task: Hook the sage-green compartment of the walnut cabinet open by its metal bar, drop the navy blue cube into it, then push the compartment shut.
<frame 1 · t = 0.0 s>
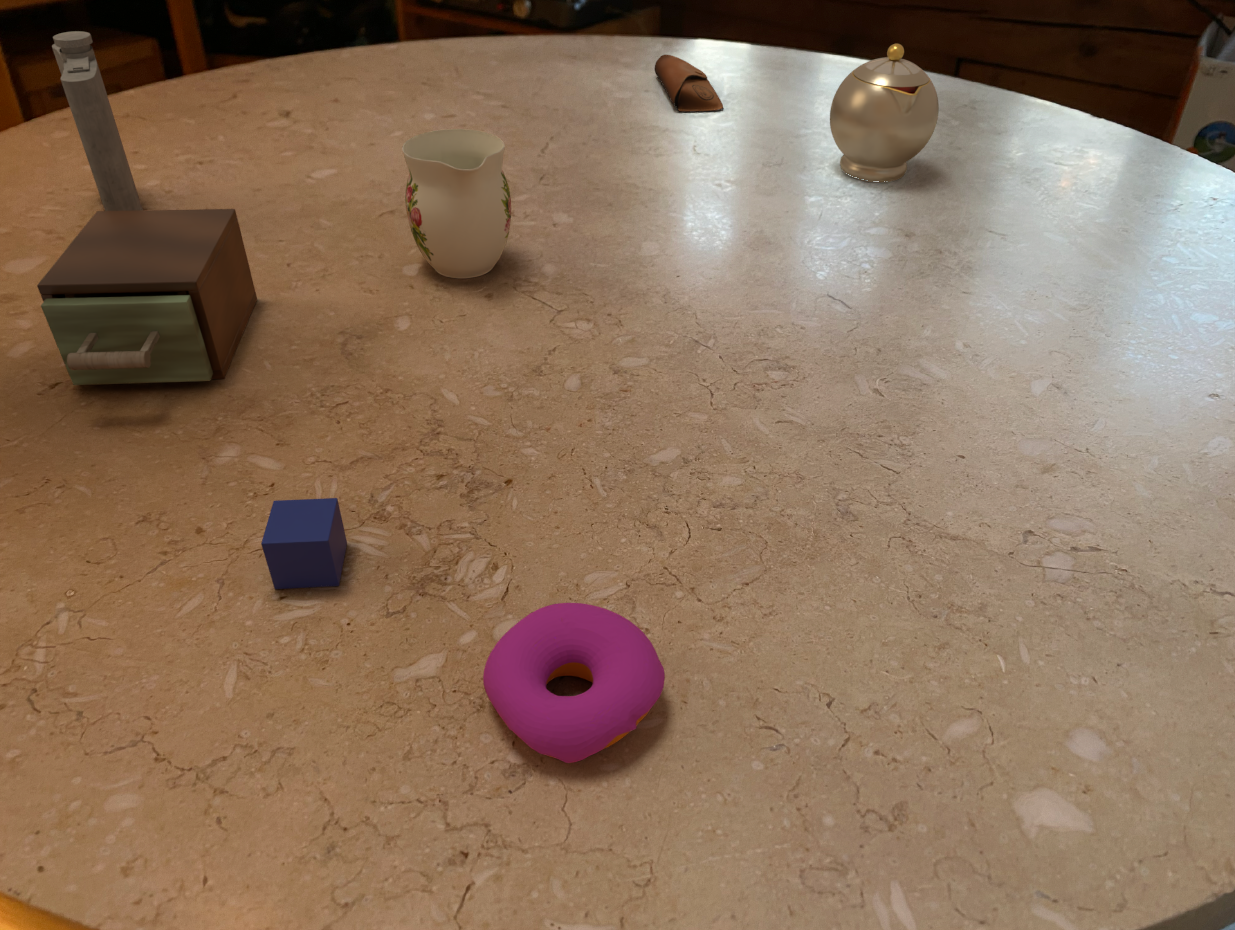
navy blue cube: (311, 565, 67), on the table
donut: (574, 701, 59), on the table
sunglasses case: (687, 94, 151), on the table
compartment: (143, 318, 83), point 5 cm above the table, slide at 0.5 cm
pitcher: (462, 262, 104), on the table
cabinet: (173, 338, 90), on the table
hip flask: (127, 215, 112), on the table
teapot: (867, 169, 128), on the table
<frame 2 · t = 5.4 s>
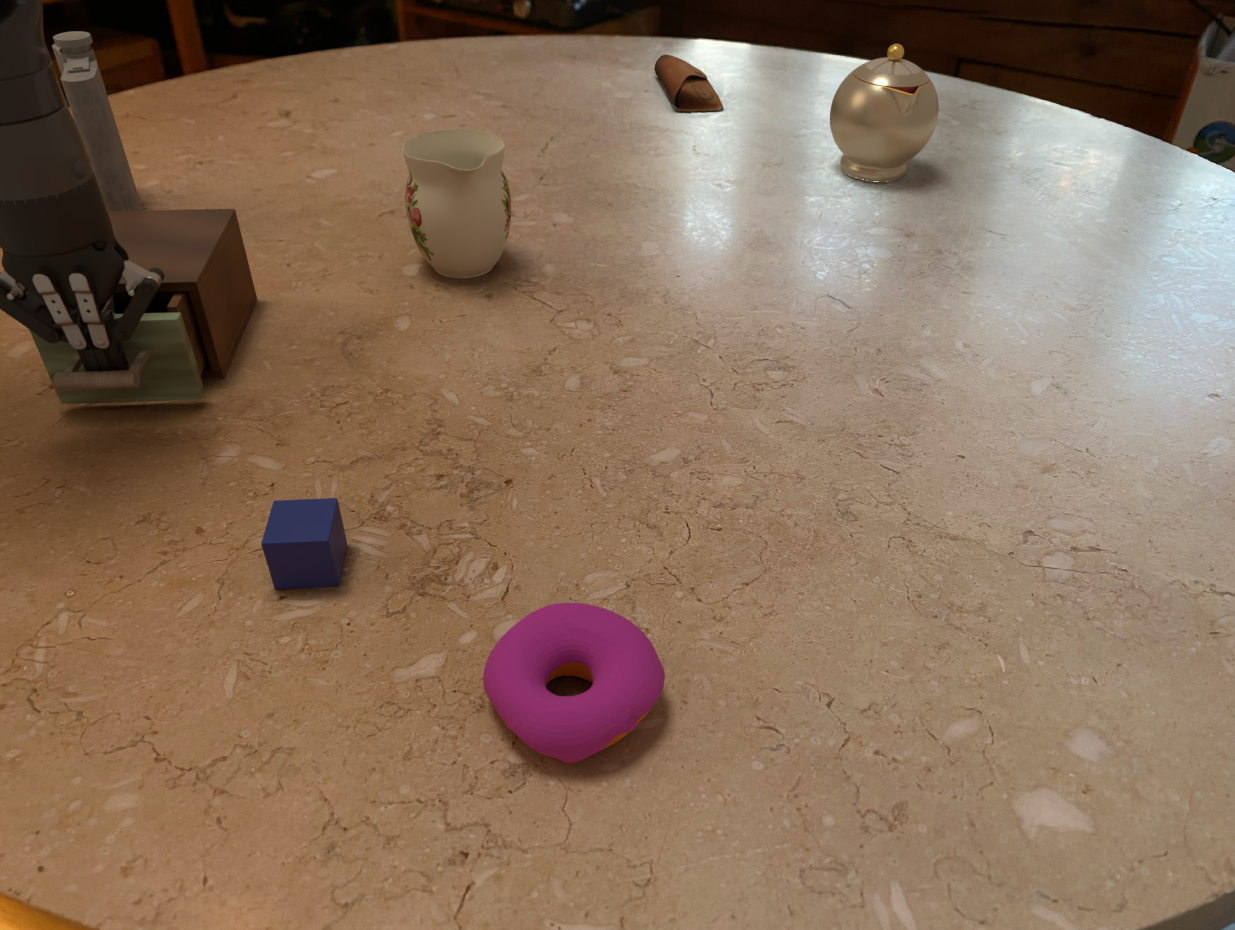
hand: (112, 381, 76), 5 cm above the table, tool pointing down, fingers closed
compartment: (133, 335, 81), point 5 cm above the table, slide at 3.4 cm, touching gripper
everything else where it was.
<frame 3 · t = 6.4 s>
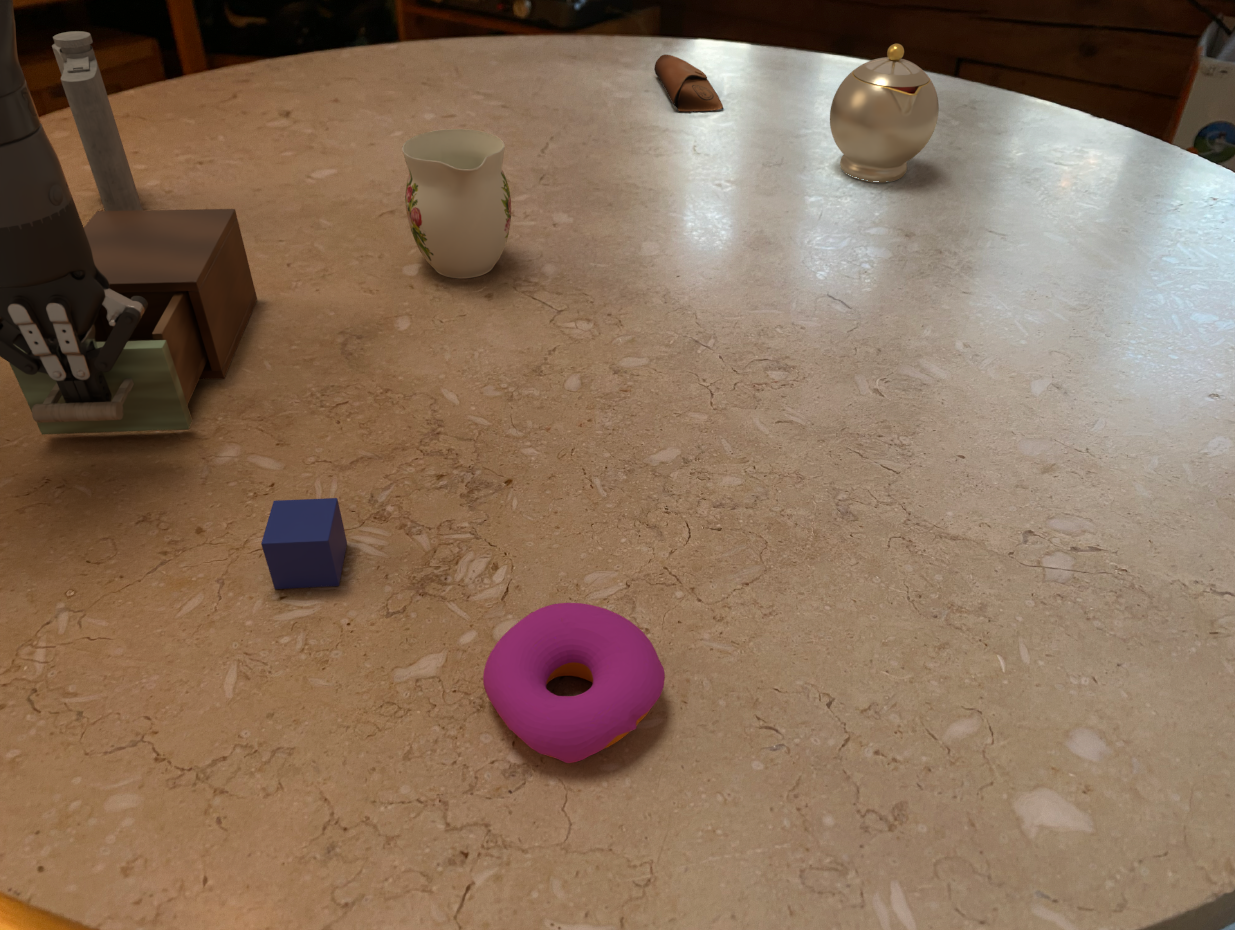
hand: (93, 412, 73), 5 cm above the table, tool pointing down, fingers closed
compartment: (118, 362, 78), point 5 cm above the table, slide at 7.7 cm, touching gripper
everything else where it was.
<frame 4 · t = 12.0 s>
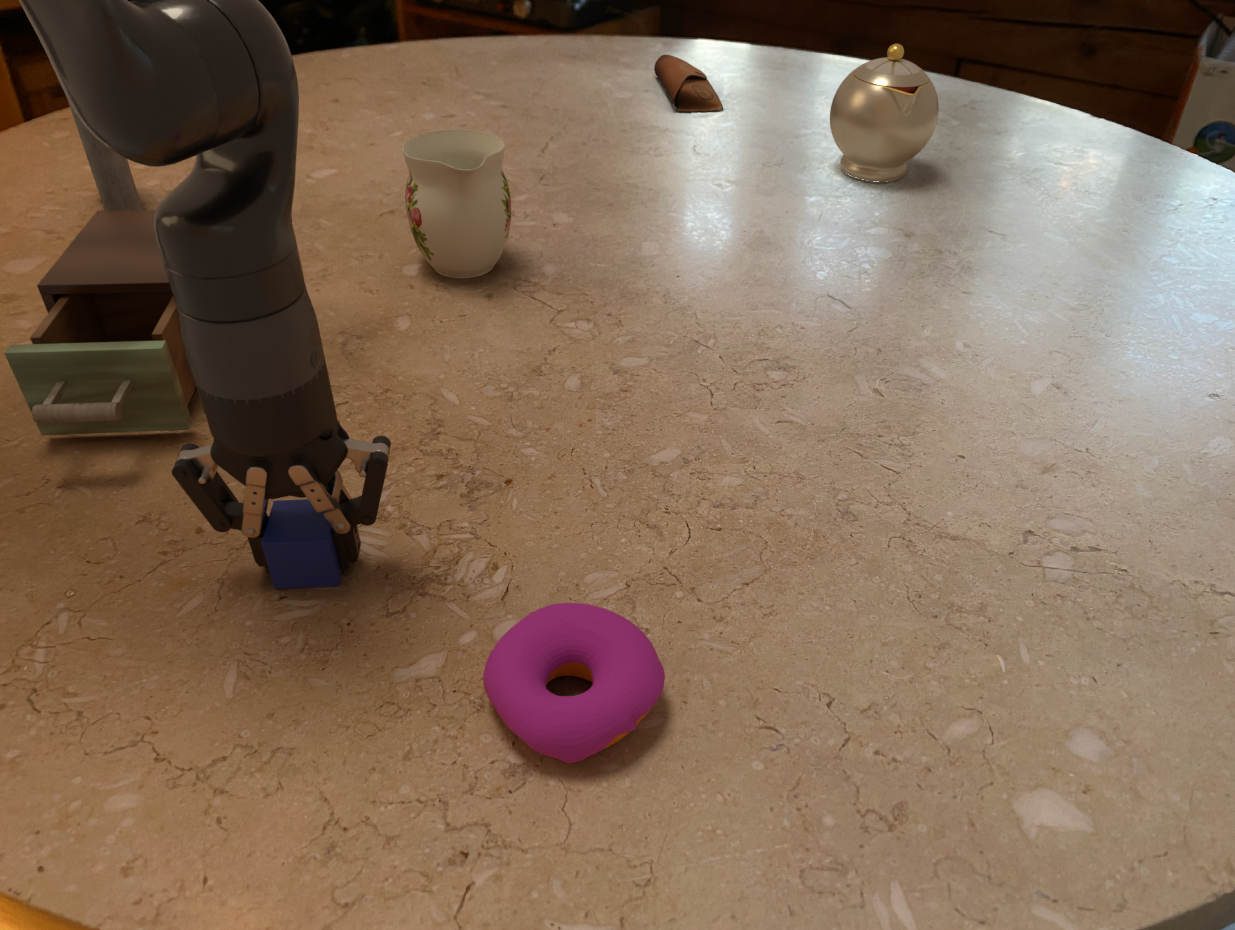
hand: (310, 562, 67), 0 cm above the table, tool pointing down, fingers closed on navy blue cube, 4 cm apart
navy blue cube: (312, 565, 67), on the table, touching gripper
compartment: (117, 362, 78), point 5 cm above the table, slide at 7.8 cm
everything else where it was.
when the fingers open (8 cm above the table, at t = 18.3 s): navy blue cube drops 6 cm, resting on compartment.
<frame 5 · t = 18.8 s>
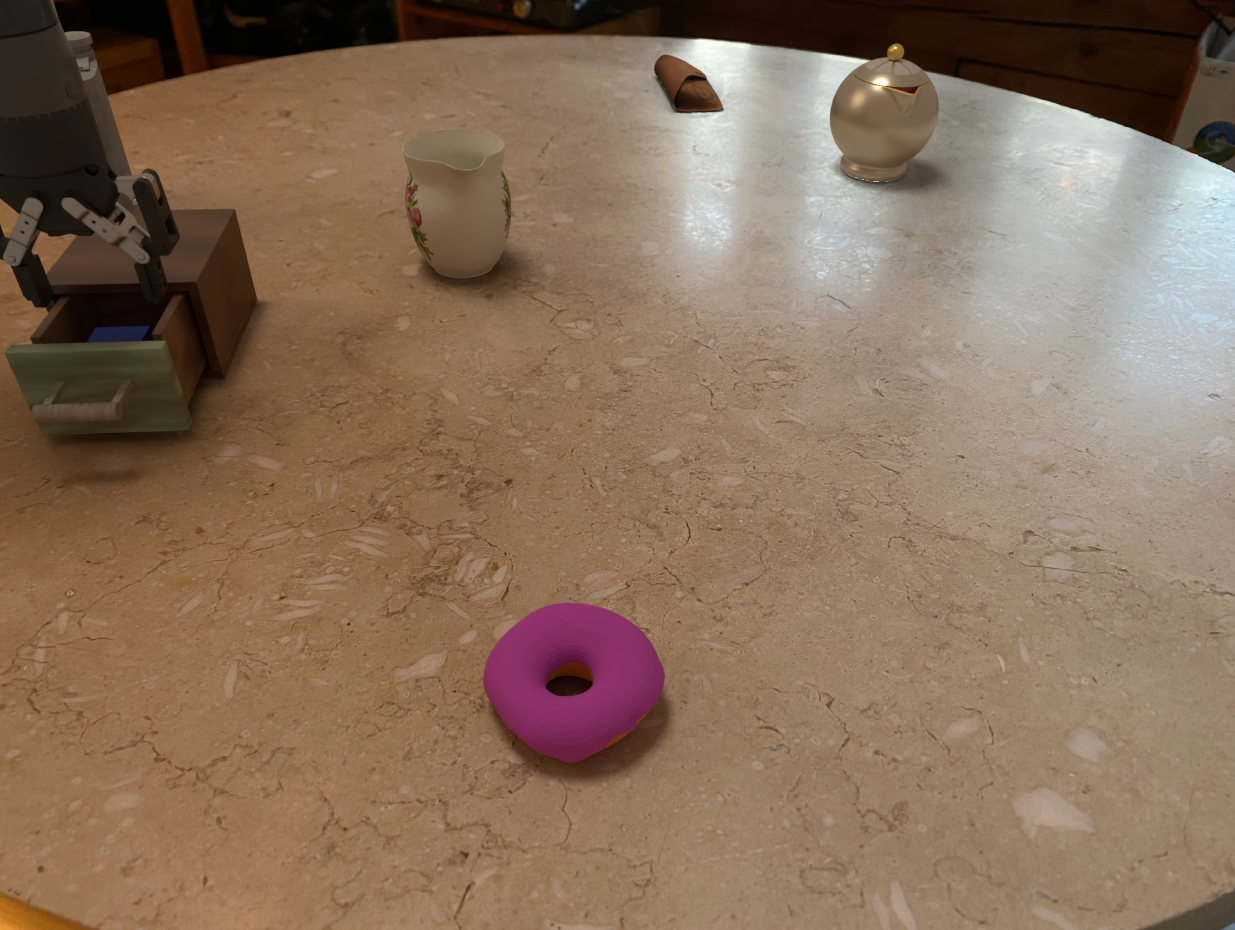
hand: (100, 301, 75), 10 cm above the table, tool pointing down, fingers open, 8 cm apart
navy blue cube: (130, 384, 80), point 2 cm above the table, touching compartment
compartment: (117, 362, 78), point 5 cm above the table, slide at 7.8 cm, touching navy blue cube
everything else where it was.
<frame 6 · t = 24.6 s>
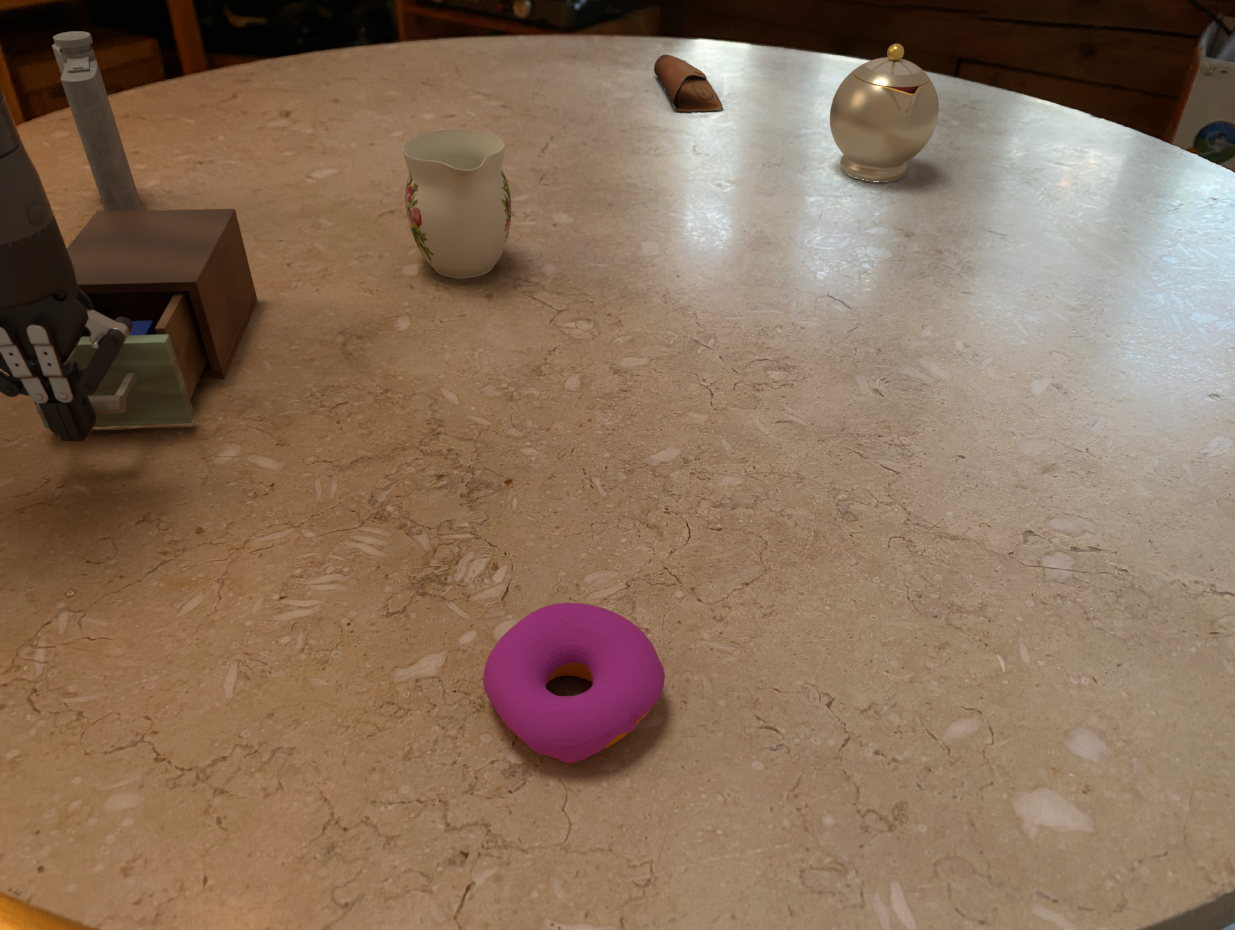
hand: (77, 434, 71), 4 cm above the table, tool pointing down, fingers closed
compartment: (121, 356, 79), point 5 cm above the table, slide at 6.8 cm, touching gripper, navy blue cube
everything else where it was.
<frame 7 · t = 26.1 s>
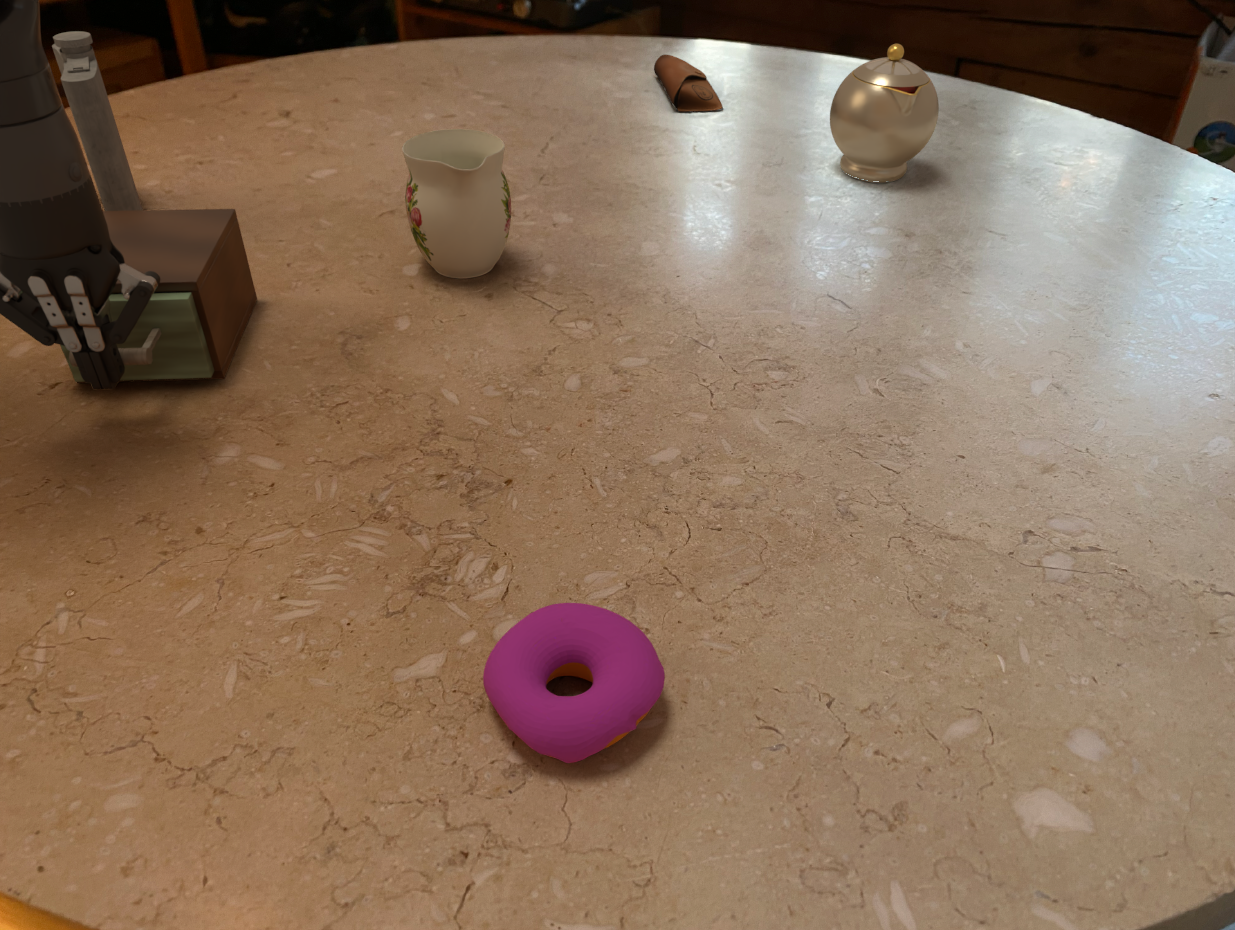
hand: (107, 384, 76), 4 cm above the table, tool pointing down, fingers closed
navy blue cube: (157, 336, 86), point 2 cm above the table, touching compartment
compartment: (145, 315, 84), point 5 cm above the table, slide at 0.0 cm, touching cabinet, gripper, navy blue cube
everything else where it was.
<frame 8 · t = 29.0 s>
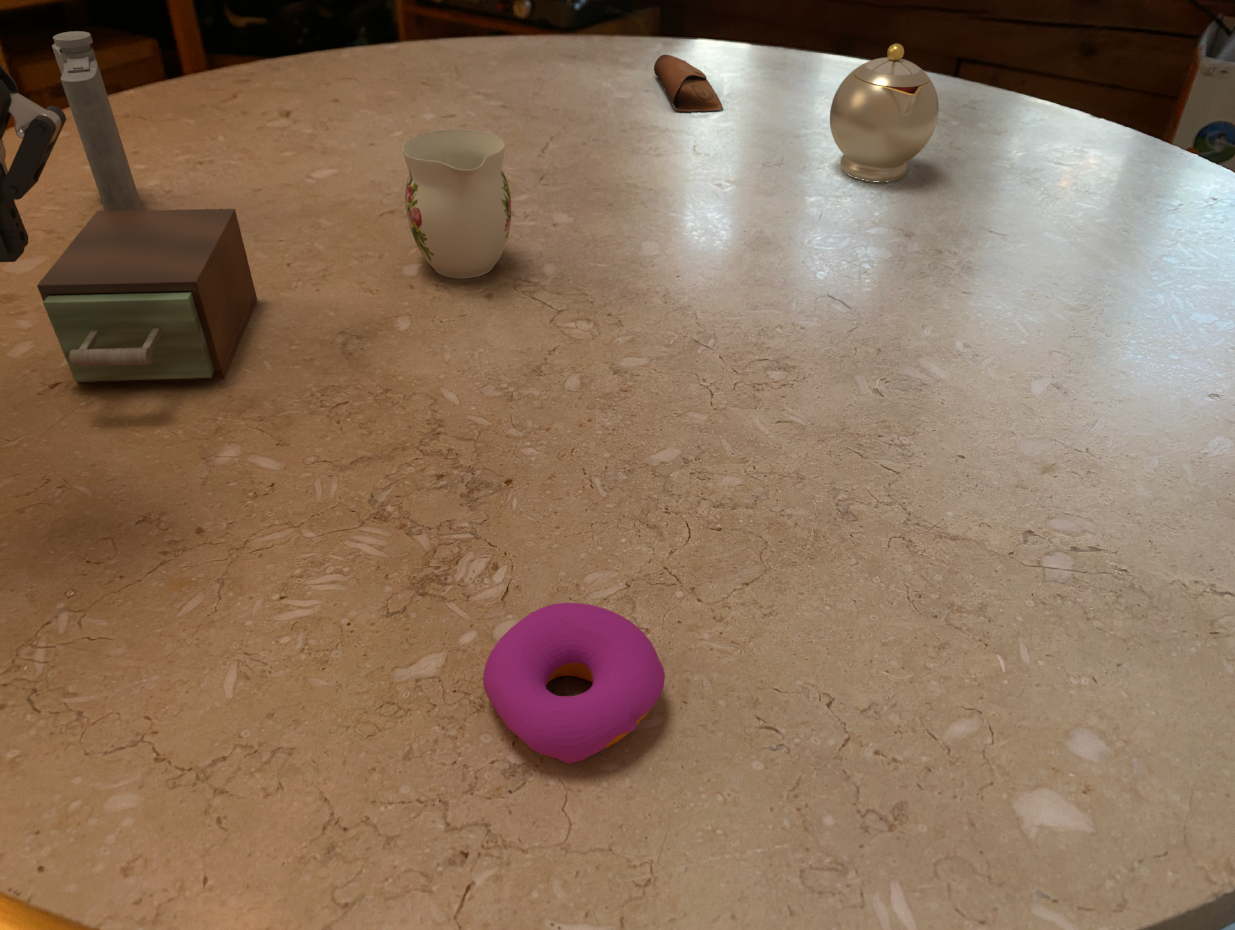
hand: (7, 256, 62), 19 cm above the table, tool pointing down, fingers closed
compartment: (145, 315, 84), point 5 cm above the table, slide at 0.0 cm, touching cabinet, navy blue cube
everything else where it was.
at the end: compartment pulled out 7.8 cm at the most during the clip, back to where it started at the end; navy blue cube inside the target area in the cabinet (3.2 cm from its centre), point 2.1 cm above the cabinet's base; compartment slide at 0.0 cm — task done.
